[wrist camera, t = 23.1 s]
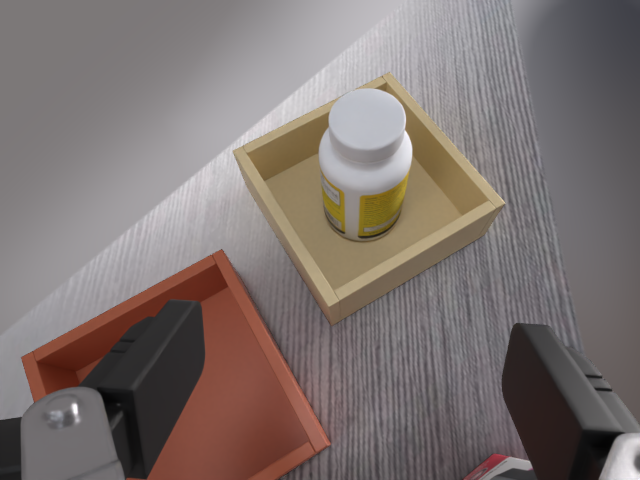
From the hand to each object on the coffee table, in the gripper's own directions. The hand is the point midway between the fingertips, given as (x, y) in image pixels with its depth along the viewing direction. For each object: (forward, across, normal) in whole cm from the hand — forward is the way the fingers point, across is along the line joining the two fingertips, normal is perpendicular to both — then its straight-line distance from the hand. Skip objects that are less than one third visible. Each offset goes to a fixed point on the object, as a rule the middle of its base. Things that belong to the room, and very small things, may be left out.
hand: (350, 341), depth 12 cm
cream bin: (+21, 0, +3) cm, 22 cm away
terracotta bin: (+11, +9, +13) cm, 20 cm away
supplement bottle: (+21, 0, +3) cm, 21 cm away
